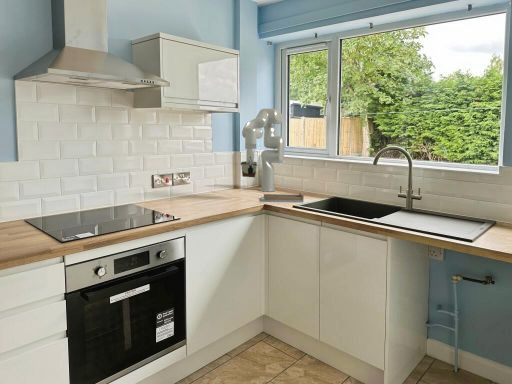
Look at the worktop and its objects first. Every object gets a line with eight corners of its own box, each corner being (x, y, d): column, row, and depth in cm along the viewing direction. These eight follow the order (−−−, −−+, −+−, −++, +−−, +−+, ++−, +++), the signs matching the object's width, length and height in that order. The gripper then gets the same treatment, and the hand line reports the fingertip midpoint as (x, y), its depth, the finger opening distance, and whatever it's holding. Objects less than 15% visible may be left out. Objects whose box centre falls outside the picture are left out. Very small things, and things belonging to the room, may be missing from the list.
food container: (260, 176, 283) (260, 161, 281) (257, 177, 278) (257, 162, 276) (244, 175, 288) (244, 160, 286) (240, 176, 282) (240, 161, 280)
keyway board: (261, 198, 288) (261, 191, 288) (301, 199, 289) (301, 191, 288) (261, 201, 277) (261, 193, 276) (303, 202, 277) (303, 194, 276)
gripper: (245, 145, 287) (244, 171, 290) (244, 147, 270) (244, 174, 273) (256, 145, 287) (255, 171, 290) (256, 147, 270) (256, 175, 273)
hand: (250, 172), depth 281 cm, fingers closed on food container, 6 cm apart
